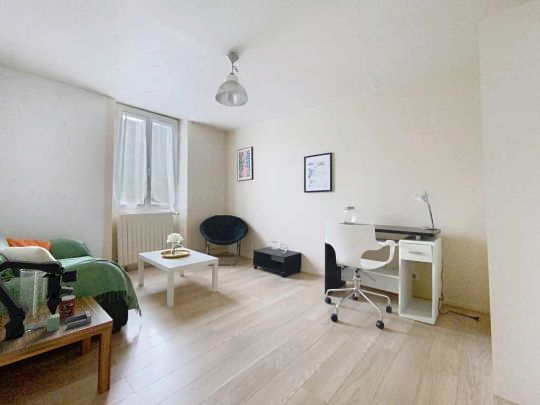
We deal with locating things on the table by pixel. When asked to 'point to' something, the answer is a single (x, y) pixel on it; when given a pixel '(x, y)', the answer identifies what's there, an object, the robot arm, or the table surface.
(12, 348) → the table surface
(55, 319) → the chute block
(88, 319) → the side mount
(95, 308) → the table surface
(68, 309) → the canned food
